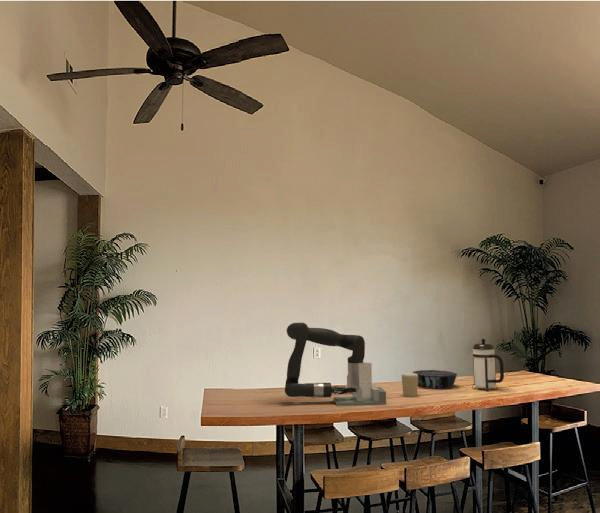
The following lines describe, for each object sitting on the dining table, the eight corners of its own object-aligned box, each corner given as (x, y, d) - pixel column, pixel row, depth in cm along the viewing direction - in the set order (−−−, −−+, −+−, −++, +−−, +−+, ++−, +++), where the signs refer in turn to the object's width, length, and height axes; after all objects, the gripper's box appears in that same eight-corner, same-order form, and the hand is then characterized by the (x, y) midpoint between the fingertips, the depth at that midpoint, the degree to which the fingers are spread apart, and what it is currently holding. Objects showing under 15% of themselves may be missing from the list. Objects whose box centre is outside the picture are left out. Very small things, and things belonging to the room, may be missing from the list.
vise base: (336, 405, 269) (336, 391, 270) (333, 399, 284) (332, 385, 285) (386, 404, 271) (386, 389, 272) (380, 398, 286) (379, 384, 287)
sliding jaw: (356, 401, 271) (356, 390, 272) (352, 396, 284) (352, 385, 285) (362, 401, 271) (362, 390, 272) (358, 396, 284) (357, 385, 285)
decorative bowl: (427, 394, 307) (428, 377, 307) (404, 383, 333) (404, 367, 333) (464, 391, 315) (465, 375, 315) (439, 380, 341) (439, 365, 341)
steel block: (361, 400, 276) (360, 363, 277) (359, 398, 280) (358, 362, 281) (372, 399, 276) (371, 363, 277) (370, 398, 280) (369, 362, 282)
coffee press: (473, 391, 304) (471, 339, 307) (470, 386, 320) (469, 337, 322) (504, 392, 300) (502, 340, 302) (500, 387, 316) (499, 337, 318)
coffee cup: (419, 394, 297) (418, 373, 298) (418, 397, 288) (417, 375, 289) (402, 393, 300) (402, 372, 301) (401, 396, 291) (400, 375, 292)
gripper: (323, 385, 271) (356, 384, 272) (321, 380, 284) (352, 380, 285) (323, 399, 270) (356, 399, 271) (321, 394, 284) (352, 394, 284)
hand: (354, 389), depth 278 cm, fingers closed
